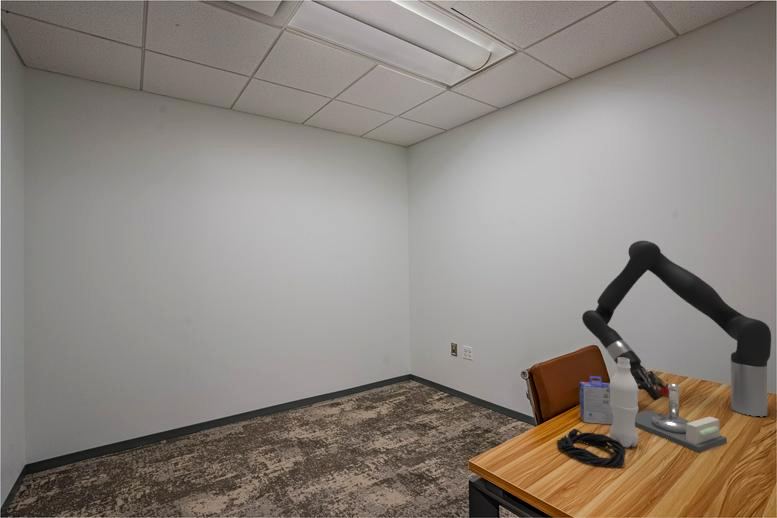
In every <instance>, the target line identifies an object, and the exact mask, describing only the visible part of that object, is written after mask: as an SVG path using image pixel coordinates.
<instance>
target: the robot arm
mask: <svg viewBox="0 0 777 518" xmlns="http://www.w3.org/2000/svg"><path fill="white" fill-rule="evenodd" d="M628 257H629V260H627V261H628V262H627V263H626V265H625V266H624V268H623V269H622V271H620V273H619V274H618V275H617V276H616V277H615V278H614V279H613V280H612V281H611V282H610V283H608V285H607V286H606V288H605V289H604V290H603V291H602V293H601V295H599V297H598V298H597V304H598V305H597V307H596V309H595V310H594V309H590V310H586V311H584V312H583V314H582V316H581V317H582V318H581V319H582V323H583V325H584V326H585V327H586V328H587V330H589V332H590V333H591V334H592V335H594V336H595V337H596V338H597V340H599V342H600V344H602V346H603V347H604V348H605V350H606V351H607V353H608V355H609V356H610V357H611V359H612V360H613V361H614V363H615V364H616V365H617V363H618V358H619V357H623V358H628V359H629V360H630V363H629V364H630V366H631V368H630V372H631V374H632V376H633V378H634V379H635V381H636V383H637V386H638V390H641V391H645V392H646V393H647V394H648V396H650V398H651V399H652V400H653V401H658V400H659V399H661V398H662V396H661V395H660V393H658V392H657V391H656V387H655V386H654V385H656V382H655V378H654V374H655V373H654V372H653V371H652V370H649V371H648V370H646V368H645V367H644V366H642V365H641V363H642V361H641V359H640V357H639V356H638V355H637V354H636V352H635V351H634V350H633V349H632V347H631V346H630V344H628V343H627V342H626V341H625V340H624V339H623V338H622V337H621V335H620V334H619V333H618V332H617V331H616V330H615V329H614V328H613V327H610V326H609V325H608V324H609V323H610V321H611V320H612V318H613V315H614V313H615V311H616V309H617V308H618V306H619V305H620V304H621V302H622V301H623V300H624V299H625V297H626V296H627V295H628V293H629V292H630V290H631V289H632V288H633V287H634V285H635V284H636V283H637V282H638V281H639V279H640V278H641V277H643V276H644V274H645V273H647V271H649V272H651V273H652V274H653V275H655V276H656V277H657V278H658V279H659V280H660V281H661V282H662V283H663V284H664V285H666V286H667V287H668V288H669V289H670V290H671V291H672V292H673V293H675V294H676V296H678V297H679V298H681V299H682V300H683V301H684V302H686V303H687V304H689V305H690V306H692V307H693V308H695V309H696V310H697V311H699V312H701V313H702V314H704V315H705V316H706V317H708V318H710V320H712V321H713V322H714V323H716V325H717V326H719V327H720V328H721V329H722V330H723V331H724V332H725V333H726V334H727V335H728V336H729V337H731V338H732V339H734V340H736V350H735V352H731V354H730V395H731V396H730V409H731V410H732V411H734V412H736V413H738V412H739V413H738V414H741V413H742V415H745V414H746V415H745V416H749V415H751V416H750V417H756V416H760V417H759V418H764V417H763V416H766V417H767V416H768V361H769V359H770V357H771V348H772V333H771V332H772V331H771V328H770V327H769V325H768V324H766V323H765V322H764V321H762V320H759V319H757V318H751V317H748V316H746V315H744V314H742V313H740V312H739V311H737V310H735V309H734V308H732V307H731V306H730V305H728V304H727V303H726V302H725V301H724V299H723V298H722V297H721V295H719V293H718V292H717V290H715V289H714V288H713V287H712V286H711V285H710V284H709V283H707V282H706V281H705V280H703V279H702V278H700V277H699V276H697V275H696V274H694V273H693V272H691V271H690V270H688V269H686V268H684V267H682V266H680V265H678V264H676V263H675V262H673V261H671V260H670V259H669V258H668V257H667V256H665V254H663V253H662V251H661V249H660V247H659V246H658V244H656V243H654V242H652V241H648V240H637V241H635V242H633V243H631V244H630V246H629V248H628ZM653 373H654V374H653Z"/></svg>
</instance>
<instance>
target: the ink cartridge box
mask: <svg viewBox="0 0 777 518" xmlns="http://www.w3.org/2000/svg"><path fill="white" fill-rule="evenodd" d="M593 379H597V380H593ZM578 384H579V386H578V387H579V417H580V420H581V421H582V422H583V423H589V424H590V423H591V424H602V425H603V424H605V425H612V423H613V412H612V408H611V406H610V382H603V380H602V376H598V375H597V376H596V375H589V381H588V382H587V381H579V383H578Z"/></svg>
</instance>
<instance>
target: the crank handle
mask: <svg viewBox="0 0 777 518" xmlns="http://www.w3.org/2000/svg"><path fill="white" fill-rule="evenodd" d="M668 388H669V396H668V413H659V412H657V413H658V414H653V415H652V424H653V425H654V426H656V427H657V428H660V429H662V430H665V431H668V432H672V433H679V434H686V423H690V422H691V421H690V420H688V419H686V418H684V417H681V416H680V408H679V407H680V402H679V401H680V394H679V392H680V386H679V385H678V384H677V383H675V382H672V383H669V384H668Z"/></svg>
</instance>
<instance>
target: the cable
mask: <svg viewBox="0 0 777 518" xmlns="http://www.w3.org/2000/svg"><path fill="white" fill-rule="evenodd" d="M579 441H580V442H582V441H583V442H585V443H584V444H586V443H588V444H590V445H589V446H591V445H592V446H591V447H593V446H596V448H600V447H601V448H600V449H604V450H611V451H613V452H614V453H613V454H612V455H611V456H610V457H609V458H608V457H601V456H599V455H597V454H596V453H594V452H592V451H590V450H588V449H586V448H584V447H583V448H582V447H576V446H575V445H574V443H575V442H579ZM556 442H557V447H558V449H559V450H560V449H562V451H563V452H564V453H565V454H567V455H569V454H570V455H571V456H572V457H574V458H575V459H577V461H579V462H582V463H585V464H586V463H587V464H590V463H591V465H593V466H600V467H607V466H608V467H609V468H620V467H622V466H623V464H624V462H625V455H626V449H625V447H623V445H622V444H621V443H620V442H618V441H616V440H614V439H612V438H611V436H608V435H606V434H603V433H595V432H582V431H580V430H579V429H577V428H573V429H571V430H570V431H569V432H568V434H567V433H566V434H565V435H564V436H563V437H561V438H560V439H557V440H556ZM573 442H574V443H573ZM583 442H582V443H583ZM588 444H587V445H588Z"/></svg>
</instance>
